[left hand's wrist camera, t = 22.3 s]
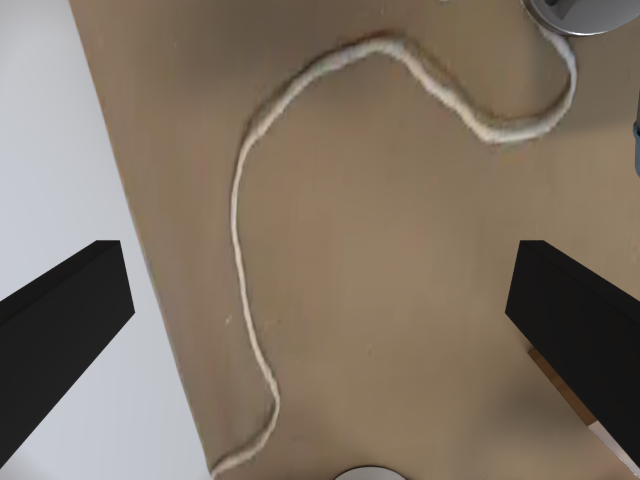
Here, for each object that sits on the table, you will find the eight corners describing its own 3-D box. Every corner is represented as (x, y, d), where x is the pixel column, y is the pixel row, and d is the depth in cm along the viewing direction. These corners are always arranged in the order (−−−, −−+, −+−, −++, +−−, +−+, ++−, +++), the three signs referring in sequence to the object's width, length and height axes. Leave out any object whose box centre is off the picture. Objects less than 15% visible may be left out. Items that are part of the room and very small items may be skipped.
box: (527, 353, 53) (587, 426, 41) (566, 326, 51) (640, 395, 39) (600, 428, 58) (672, 512, 46) (637, 406, 57) (722, 487, 45)
